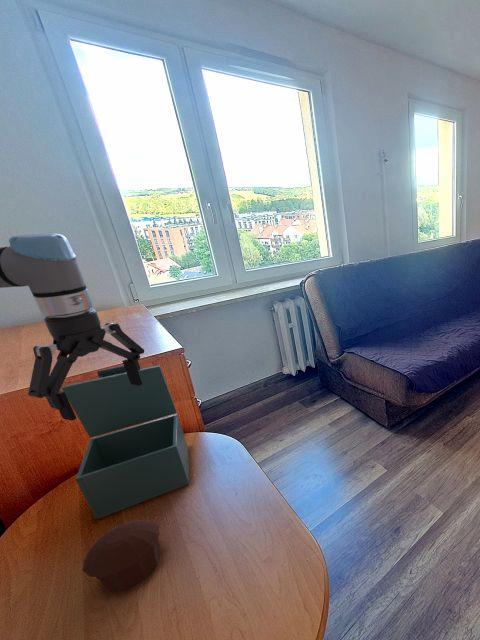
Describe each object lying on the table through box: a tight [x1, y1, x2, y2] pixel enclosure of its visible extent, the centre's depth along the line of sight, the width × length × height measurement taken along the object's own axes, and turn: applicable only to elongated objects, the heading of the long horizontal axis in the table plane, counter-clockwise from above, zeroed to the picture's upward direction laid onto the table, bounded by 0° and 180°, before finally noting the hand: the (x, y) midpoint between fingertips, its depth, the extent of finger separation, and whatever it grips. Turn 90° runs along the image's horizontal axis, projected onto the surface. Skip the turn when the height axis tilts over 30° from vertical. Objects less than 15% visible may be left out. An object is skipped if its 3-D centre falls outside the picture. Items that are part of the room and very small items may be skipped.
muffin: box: [82, 520, 161, 593], centre depth 67 cm, size 12×11×10 cm
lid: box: [61, 364, 178, 439], centre depth 90 cm, size 17×19×8 cm
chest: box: [75, 413, 190, 520], centre depth 88 cm, size 16×19×13 cm
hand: (106, 400), depth 75 cm, fingers open, 13 cm apart
